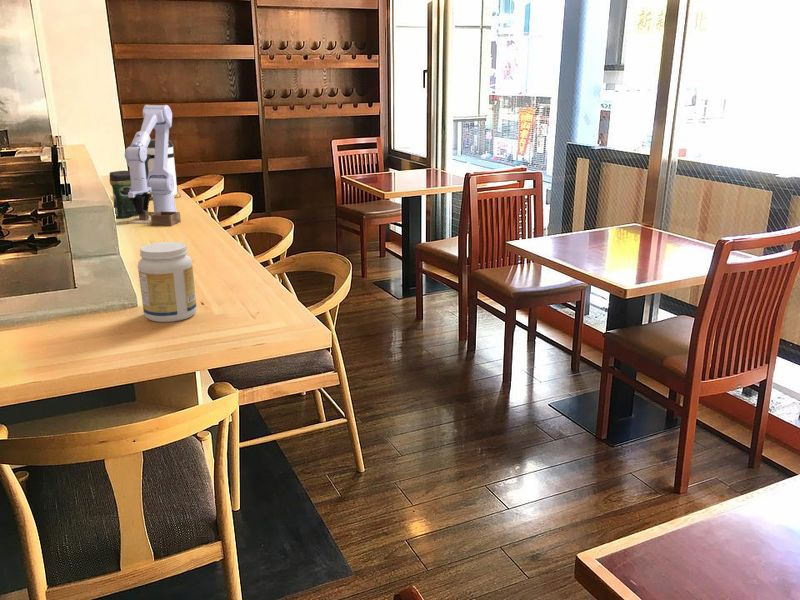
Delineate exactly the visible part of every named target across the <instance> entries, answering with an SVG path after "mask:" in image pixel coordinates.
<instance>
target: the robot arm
mask: <svg viewBox="0 0 800 600" xmlns="http://www.w3.org/2000/svg"><path fill="white" fill-rule="evenodd" d="M142 116H143V117H142V118H143V120H142V124H141V127H140V131H136V133H135V135H134V137H133V139H132V141H131V144H130V145H129V146H128V147H127V148H125V150H124V159H125V160H126V164H127V167H129V171H130V178H131V186H132V189H130V190H129V191H130V192H128V197H129V199H130V200H131V201H132V203H133V204H134V207H135V209H136V212H137V214H143V210H148V211H149V205H150V199H151V198H152V197H153V198H152V204H153V213H151V214H150V216H151V215H153V214H155V213H158V212H160V211H163V212H179V210H177V208H176V207H177V206H176V200H175V195H173V194H172V191H173V190H174V179H173V175H172V174H171V173H170V172H169V171H168V170H167V159H168V140H169V136H170V128H172V124H173V112H172V109H171V107H170V106H169V105H168V104H163V105H162V104H161V105H159V104H158V105H155V104H152V105H151V104H145V105H144V106H143V108H142ZM153 129H154V130H155V138H154V139H155V158H154V169H153V170H152V171H150V172H149V173H148V178H147V179H146V171H145V161H146V159H147V147H148V145H149V142H150V140H151V139H152V138H151V137H150V135H151V133H152V131H153ZM151 194H152V195H151Z"/></svg>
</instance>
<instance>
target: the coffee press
mask: <svg viewBox="0 0 800 600" xmlns="http://www.w3.org/2000/svg"><path fill="white" fill-rule="evenodd" d="M154 158H155V138H153V139H152V138H151V140H150V142H149V145H148V147H147V159H146V161H145V171H146V179H147V178H148V173H149V172H150V171H152V170H153V169H154ZM167 170H168V171H169V172H170V173H171V174H172V175H173V179H174V190H173V191H172V194H173V195H174V196H176V197H178V198H181V197H182V194H179V196H178V193H179V190H178V189H179V188H178V180H177V170H176V161H175V152H174V144H173V142H172V141H171V140H170V139H168V159H167ZM151 195H152V194H151ZM150 200H153V197H152V196H151V198H150Z"/></svg>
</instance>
